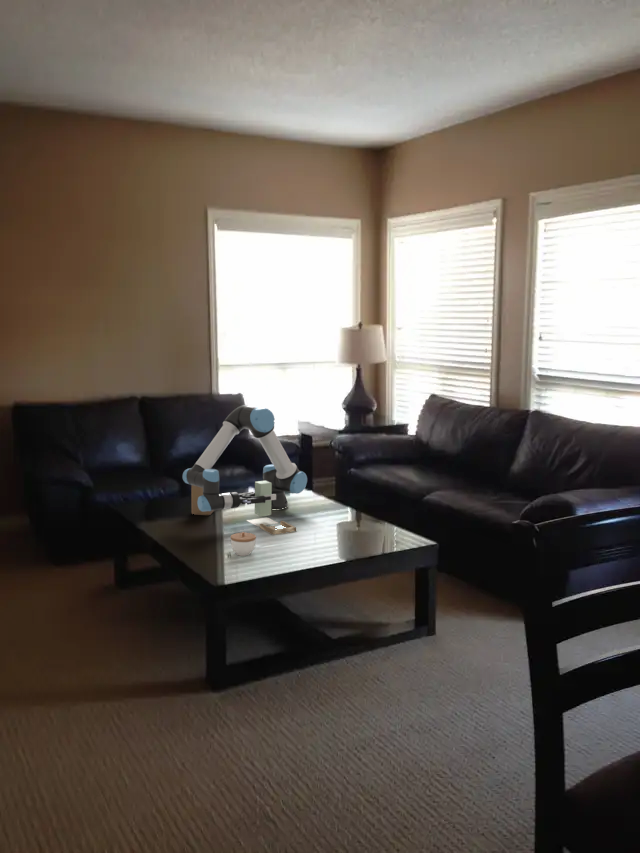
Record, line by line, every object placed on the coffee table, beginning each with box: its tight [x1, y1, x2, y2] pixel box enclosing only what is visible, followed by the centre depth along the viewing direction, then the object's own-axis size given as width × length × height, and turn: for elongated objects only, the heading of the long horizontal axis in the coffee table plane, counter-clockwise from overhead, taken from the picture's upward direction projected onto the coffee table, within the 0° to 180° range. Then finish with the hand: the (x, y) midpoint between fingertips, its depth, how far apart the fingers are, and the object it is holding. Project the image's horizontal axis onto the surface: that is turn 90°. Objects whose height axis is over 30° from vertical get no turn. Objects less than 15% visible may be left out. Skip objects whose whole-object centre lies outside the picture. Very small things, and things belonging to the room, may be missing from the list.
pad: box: [245, 516, 279, 527], centre depth 367 cm, size 12×12×1 cm
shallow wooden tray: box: [259, 520, 297, 536], centre depth 354 cm, size 12×13×2 cm
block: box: [190, 485, 214, 516], centre depth 382 cm, size 10×10×20 cm
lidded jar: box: [230, 531, 257, 557], centre depth 318 cm, size 11×11×9 cm
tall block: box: [254, 480, 272, 517], centre depth 365 cm, size 6×6×16 cm
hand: (272, 495), depth 368 cm, fingers closed on tall block, 6 cm apart
